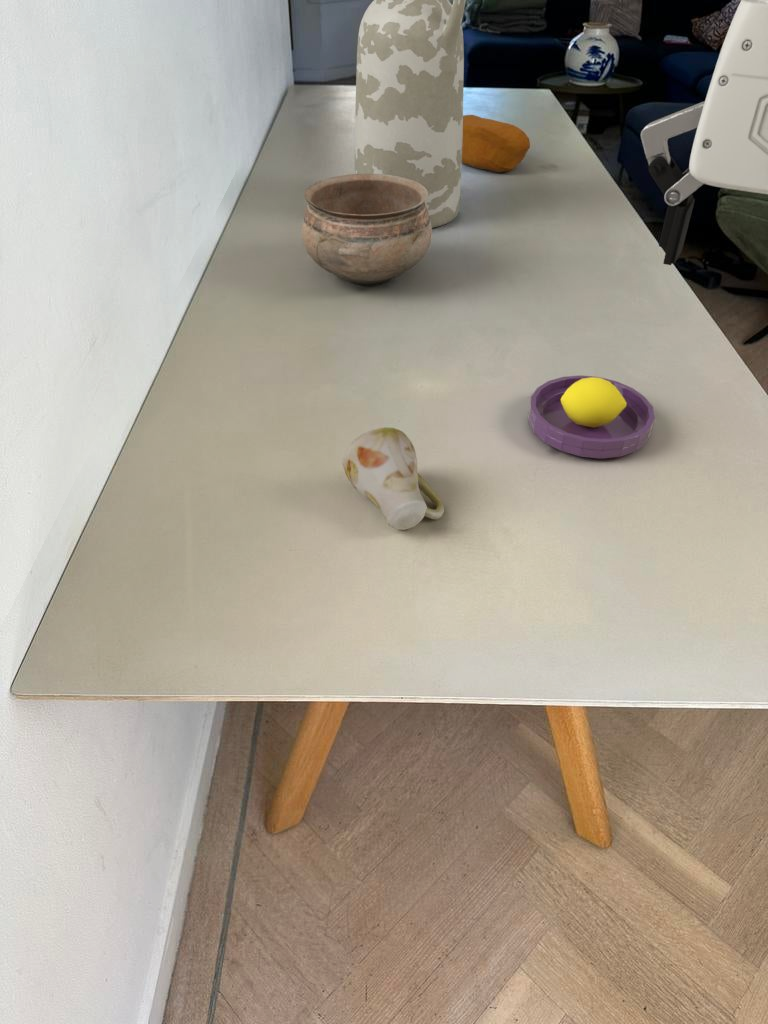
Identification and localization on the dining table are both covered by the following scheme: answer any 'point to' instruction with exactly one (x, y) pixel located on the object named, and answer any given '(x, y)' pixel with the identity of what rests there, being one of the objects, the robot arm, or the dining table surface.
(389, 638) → the dining table surface
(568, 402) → the lemon
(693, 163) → the robot arm
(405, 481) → the mug
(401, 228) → the cooking pot
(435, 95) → the vase
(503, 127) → the bread
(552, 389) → the dish
